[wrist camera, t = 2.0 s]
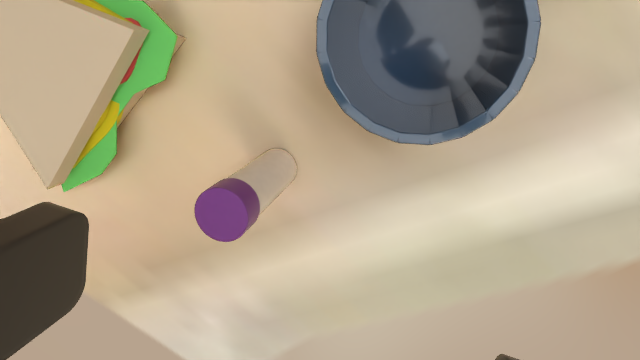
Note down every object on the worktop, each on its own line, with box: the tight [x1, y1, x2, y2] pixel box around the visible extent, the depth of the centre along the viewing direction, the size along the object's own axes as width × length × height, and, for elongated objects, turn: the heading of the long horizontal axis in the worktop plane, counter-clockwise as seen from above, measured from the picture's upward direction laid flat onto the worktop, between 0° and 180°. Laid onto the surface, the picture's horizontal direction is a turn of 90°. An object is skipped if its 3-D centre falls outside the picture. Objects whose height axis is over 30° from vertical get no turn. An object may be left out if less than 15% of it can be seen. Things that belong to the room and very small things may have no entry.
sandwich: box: [0, 0, 186, 192], centre depth 31 cm, size 15×20×5 cm
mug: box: [316, 0, 541, 145], centre depth 23 cm, size 13×9×10 cm
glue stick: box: [195, 148, 297, 242], centre depth 29 cm, size 3×3×9 cm
